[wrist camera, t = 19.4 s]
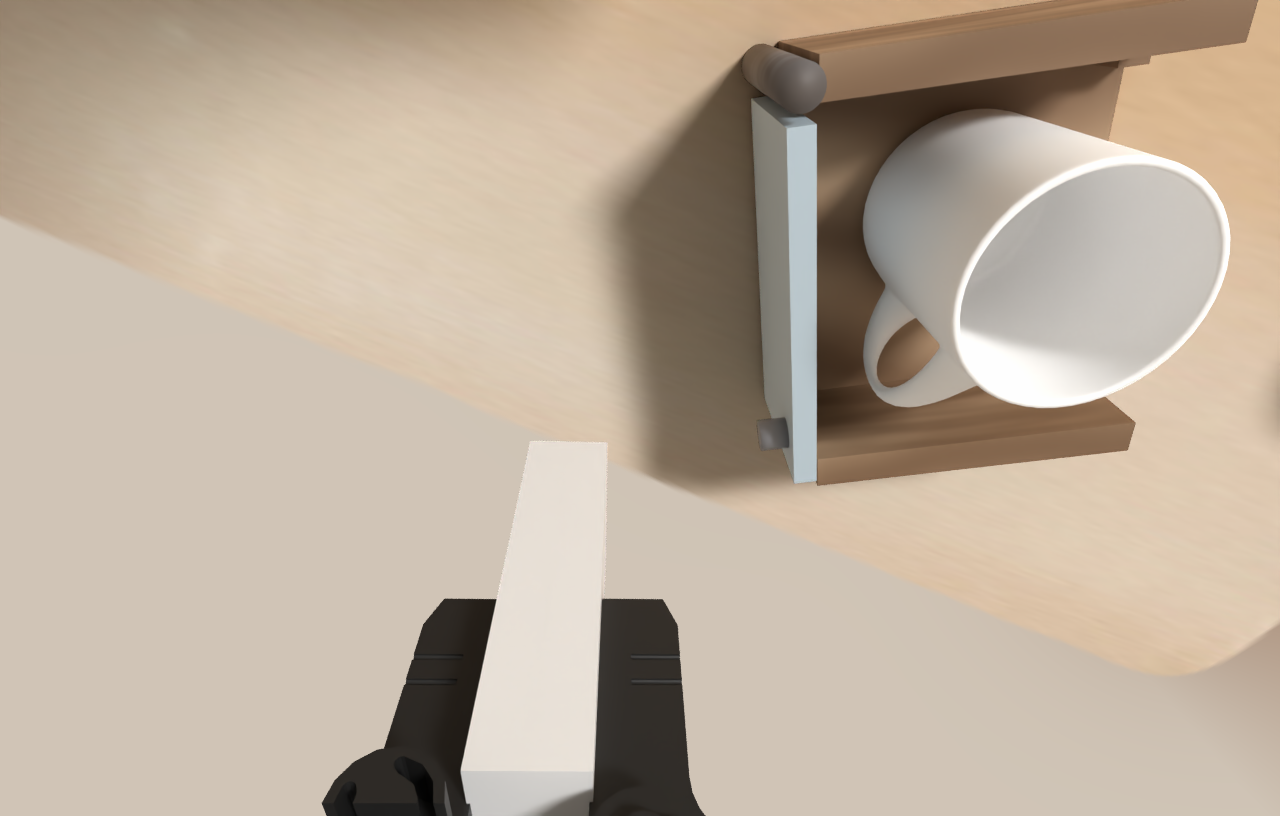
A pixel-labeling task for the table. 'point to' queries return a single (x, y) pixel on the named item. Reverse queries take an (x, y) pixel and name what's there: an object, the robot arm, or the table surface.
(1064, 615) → the table surface
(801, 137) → the door
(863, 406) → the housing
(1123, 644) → the table surface
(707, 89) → the table surface
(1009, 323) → the mug
